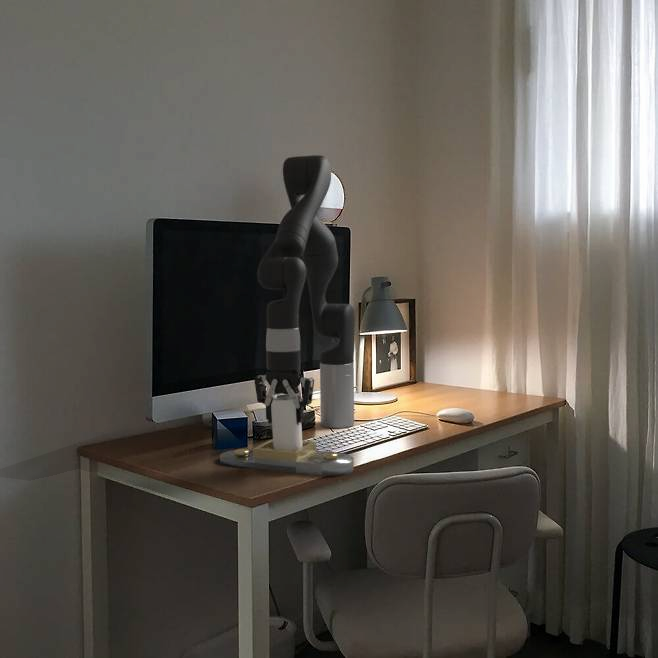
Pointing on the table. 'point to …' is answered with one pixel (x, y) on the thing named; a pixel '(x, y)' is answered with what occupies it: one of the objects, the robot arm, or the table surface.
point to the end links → (291, 459)
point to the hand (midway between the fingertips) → (284, 422)
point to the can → (285, 424)
